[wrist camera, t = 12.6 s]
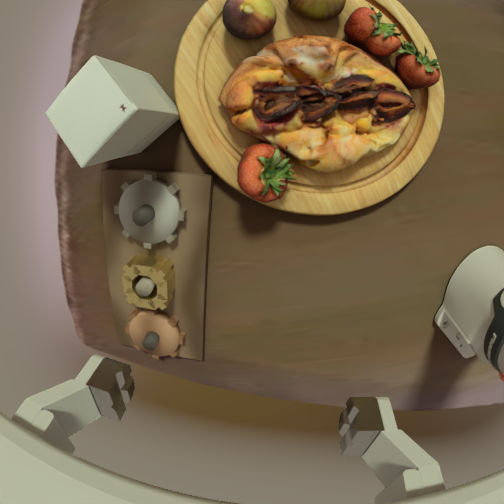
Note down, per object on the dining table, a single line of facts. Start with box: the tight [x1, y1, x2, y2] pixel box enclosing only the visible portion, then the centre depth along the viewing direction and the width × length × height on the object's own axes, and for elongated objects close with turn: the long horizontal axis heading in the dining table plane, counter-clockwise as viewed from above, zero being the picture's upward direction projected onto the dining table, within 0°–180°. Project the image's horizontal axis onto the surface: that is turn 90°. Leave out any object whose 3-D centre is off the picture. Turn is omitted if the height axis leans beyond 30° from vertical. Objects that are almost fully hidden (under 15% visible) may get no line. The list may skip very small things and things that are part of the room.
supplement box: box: [46, 55, 180, 168], centre depth 25 cm, size 7×7×13 cm
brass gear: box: [122, 254, 175, 310], centre depth 36 cm, size 6×6×3 cm
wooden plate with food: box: [173, 0, 445, 216], centre depth 25 cm, size 32×32×8 cm
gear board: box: [102, 168, 214, 361], centre depth 37 cm, size 14×27×5 cm, turn 174°
